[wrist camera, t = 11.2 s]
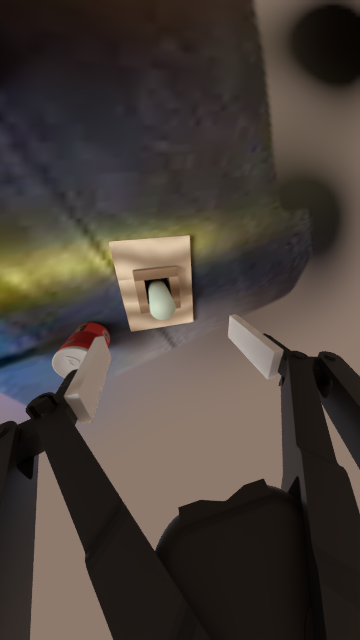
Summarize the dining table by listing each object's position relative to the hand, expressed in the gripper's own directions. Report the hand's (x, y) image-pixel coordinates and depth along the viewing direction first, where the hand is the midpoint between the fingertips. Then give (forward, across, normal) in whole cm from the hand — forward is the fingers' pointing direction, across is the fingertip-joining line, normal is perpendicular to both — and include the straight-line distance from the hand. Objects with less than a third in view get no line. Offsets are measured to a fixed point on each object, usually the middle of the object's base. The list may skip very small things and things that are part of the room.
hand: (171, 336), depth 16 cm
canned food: (+23, -17, -10) cm, 30 cm away
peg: (+23, 0, 0) cm, 23 cm away
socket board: (+23, 0, 0) cm, 23 cm away
